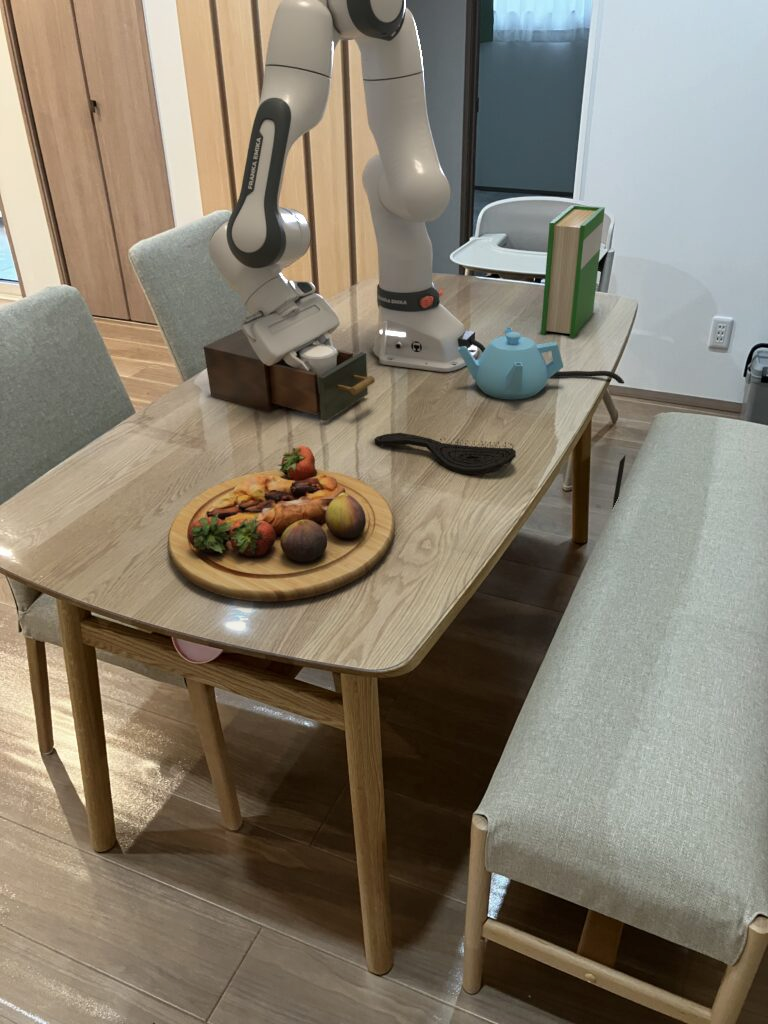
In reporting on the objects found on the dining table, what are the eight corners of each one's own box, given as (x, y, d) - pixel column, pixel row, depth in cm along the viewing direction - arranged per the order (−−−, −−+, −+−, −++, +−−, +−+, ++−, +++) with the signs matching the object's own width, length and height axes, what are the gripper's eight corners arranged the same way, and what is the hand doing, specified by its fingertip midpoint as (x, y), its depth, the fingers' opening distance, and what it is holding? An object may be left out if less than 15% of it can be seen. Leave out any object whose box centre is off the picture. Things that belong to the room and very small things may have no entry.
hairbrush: (385, 417, 144) (523, 438, 133) (387, 436, 146) (522, 458, 135) (362, 437, 138) (505, 460, 127) (364, 457, 139) (505, 481, 129)
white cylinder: (345, 382, 155) (343, 347, 151) (328, 396, 150) (325, 360, 146) (313, 377, 157) (310, 342, 154) (295, 391, 152) (292, 355, 148)
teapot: (514, 411, 151) (518, 355, 145) (454, 388, 160) (455, 335, 155) (565, 387, 159) (571, 333, 154) (505, 366, 169) (508, 315, 163)
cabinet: (316, 384, 164) (312, 335, 158) (269, 412, 153) (263, 360, 148) (259, 370, 171) (254, 323, 165) (210, 396, 160) (203, 346, 155)
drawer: (386, 398, 155) (385, 357, 150) (345, 426, 145) (343, 382, 141) (311, 380, 163) (307, 340, 159) (267, 405, 154) (263, 363, 149)
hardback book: (573, 338, 181) (585, 225, 168) (540, 333, 184) (549, 222, 171) (592, 313, 195) (604, 207, 182) (562, 309, 197) (571, 204, 185)
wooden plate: (244, 466, 136) (238, 421, 132) (426, 501, 125) (426, 452, 121) (122, 575, 111) (109, 523, 107) (336, 630, 100) (332, 575, 96)
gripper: (245, 311, 141) (295, 375, 141) (316, 279, 155) (362, 338, 156) (228, 332, 145) (277, 394, 146) (299, 299, 160) (344, 356, 160)
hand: (321, 365), depth 151 cm, fingers closed on white cylinder, 7 cm apart
